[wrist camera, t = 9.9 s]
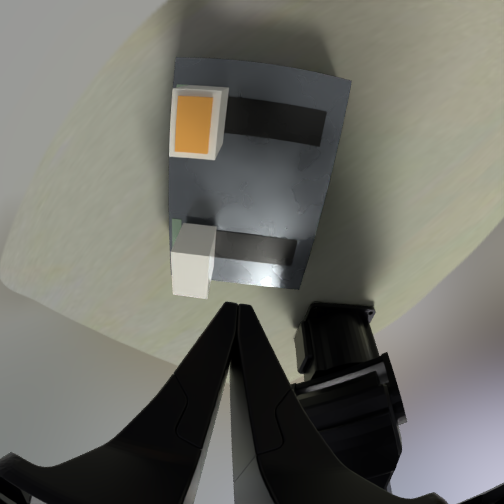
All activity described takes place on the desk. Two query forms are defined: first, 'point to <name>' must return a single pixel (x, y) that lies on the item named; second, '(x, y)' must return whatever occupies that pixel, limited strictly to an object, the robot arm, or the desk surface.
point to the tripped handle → (197, 121)
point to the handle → (193, 260)
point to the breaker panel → (260, 168)
